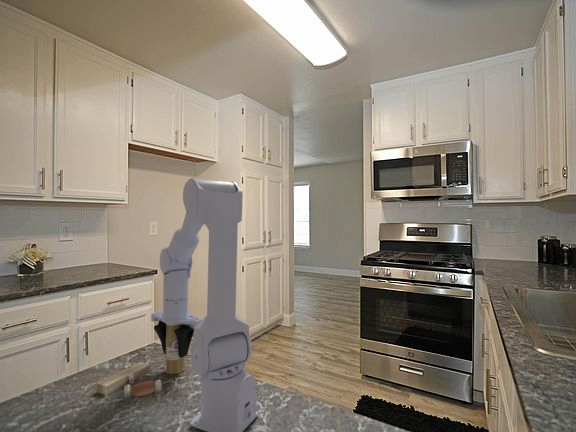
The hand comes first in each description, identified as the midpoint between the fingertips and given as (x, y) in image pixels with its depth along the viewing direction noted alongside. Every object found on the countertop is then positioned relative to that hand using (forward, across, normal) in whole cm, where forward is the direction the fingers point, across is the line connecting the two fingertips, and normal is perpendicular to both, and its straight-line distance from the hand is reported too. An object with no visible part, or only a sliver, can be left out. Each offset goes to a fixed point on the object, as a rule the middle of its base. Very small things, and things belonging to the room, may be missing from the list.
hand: (175, 354), depth 76 cm
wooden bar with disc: (+4, 0, +9) cm, 10 cm away
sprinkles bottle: (+4, 0, 0) cm, 4 cm away
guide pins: (+4, 0, +9) cm, 10 cm away
